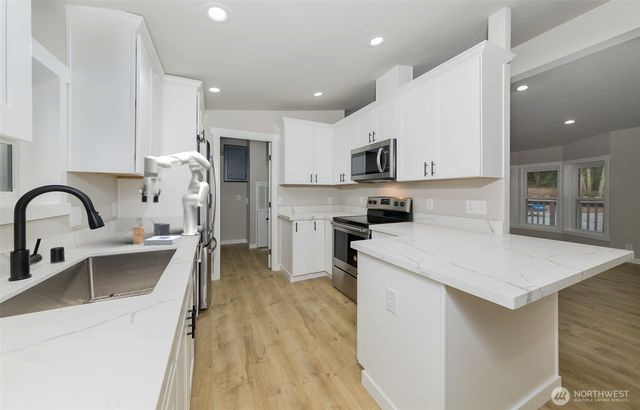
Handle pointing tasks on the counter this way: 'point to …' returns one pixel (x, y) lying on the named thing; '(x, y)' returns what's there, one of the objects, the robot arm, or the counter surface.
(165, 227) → the small box
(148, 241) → the socket
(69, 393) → the counter surface
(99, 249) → the counter surface
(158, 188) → the robot arm
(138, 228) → the peg
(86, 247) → the counter surface
